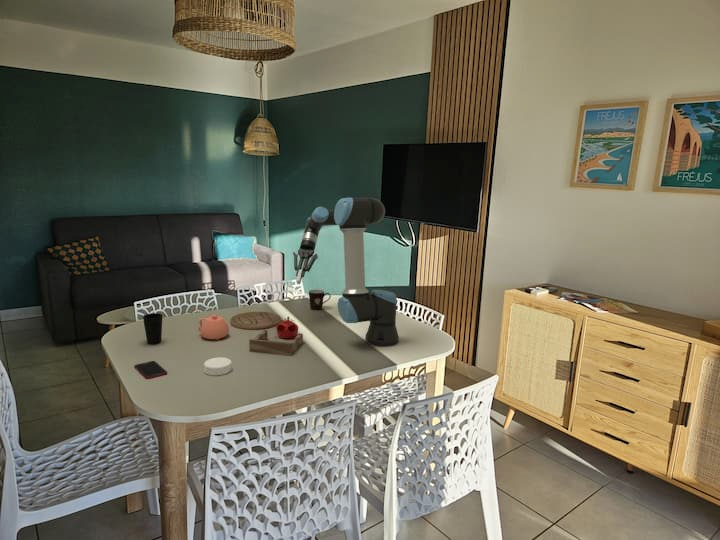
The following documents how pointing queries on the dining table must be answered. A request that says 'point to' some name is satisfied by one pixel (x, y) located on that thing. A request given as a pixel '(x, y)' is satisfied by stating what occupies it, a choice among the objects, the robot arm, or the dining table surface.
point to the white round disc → (217, 366)
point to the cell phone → (150, 370)
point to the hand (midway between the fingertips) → (298, 282)
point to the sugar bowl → (213, 327)
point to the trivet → (255, 320)
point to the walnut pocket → (274, 345)
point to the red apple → (287, 329)
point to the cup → (153, 328)
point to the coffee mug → (317, 299)
